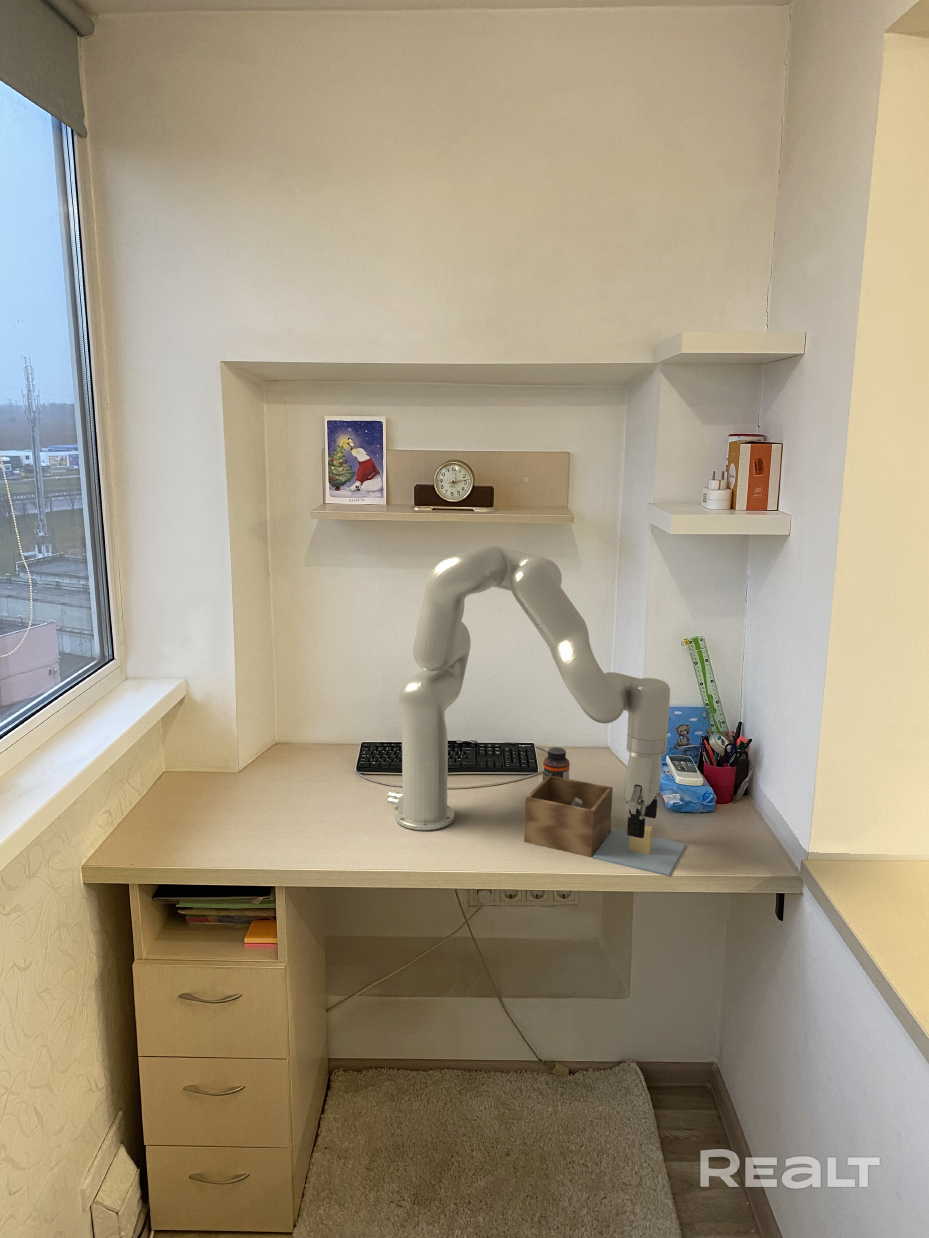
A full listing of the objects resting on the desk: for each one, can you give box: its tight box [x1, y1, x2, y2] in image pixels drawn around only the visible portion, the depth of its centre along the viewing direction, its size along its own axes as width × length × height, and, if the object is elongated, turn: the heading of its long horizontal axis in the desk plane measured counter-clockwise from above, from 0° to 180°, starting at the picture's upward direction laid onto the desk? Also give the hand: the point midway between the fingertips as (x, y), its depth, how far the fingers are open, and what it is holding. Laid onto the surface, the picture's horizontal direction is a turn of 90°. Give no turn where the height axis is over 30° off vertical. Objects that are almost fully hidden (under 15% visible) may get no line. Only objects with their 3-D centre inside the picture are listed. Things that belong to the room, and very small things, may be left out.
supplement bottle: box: [541, 746, 571, 782], centre depth 194 cm, size 6×6×11 cm
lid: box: [592, 824, 687, 877], centre depth 169 cm, size 15×14×6 cm
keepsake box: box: [523, 775, 613, 858], centre depth 175 cm, size 14×13×10 cm
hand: (641, 826), depth 168 cm, fingers open, 9 cm apart
